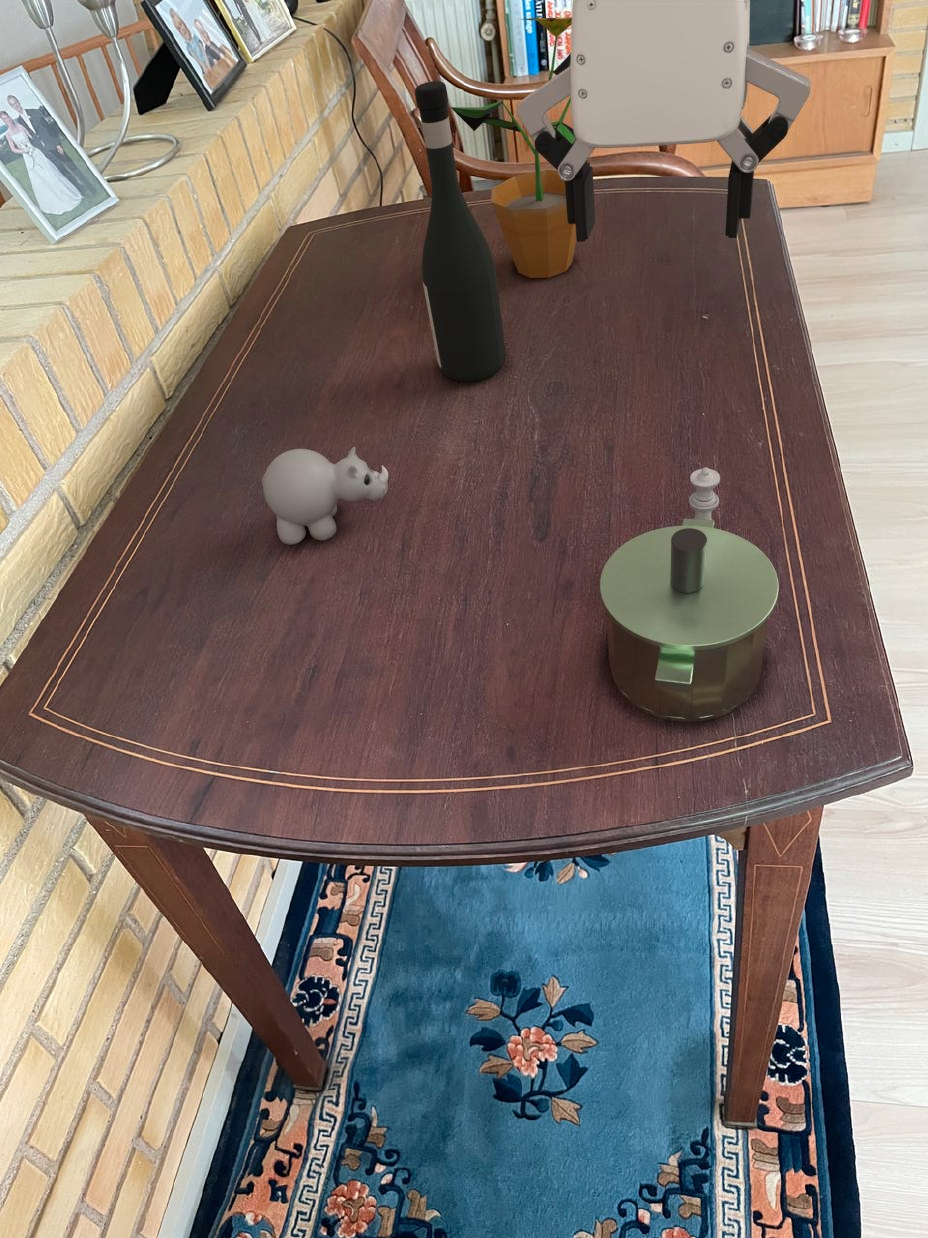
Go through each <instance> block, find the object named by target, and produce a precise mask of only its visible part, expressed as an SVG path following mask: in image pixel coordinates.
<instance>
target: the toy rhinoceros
mask: <svg viewBox="0 0 928 1238" xmlns="http://www.w3.org/2000/svg"><path fill="white" fill-rule="evenodd" d="M356 450H357V447H356V446H352V448H351V449H350V450H349V451H348V455H347V456H346V457H345V458H342V459H340V460H339V461H337V462H336V463H333V462H331V461H330V460H329V459H328V458H327V457H325V456H324V455H323V454H321V453H319V452H317V451H314V450H312V449H308V448H294V449H290V450H286V451H284V452H283V453H281V454H279V455H277V457H275V458H274V459H273V460H272V461H271V462H270V463H269V465H268V467H267V469H266V471H265V472H264V474H263V476H262V478H261V485H262V489H263V496H264V498H265V499H264V500H265V502H266V503H267V505H268V508H269V509H270V510H271V511H272V512H273V514H274V516H276V532H277V535H278V538H279V540H280V541H281V542H282V543H283V544H285V545H288V546H290V545H297V544H299V543H300V542H302V541H303V539H305V537H306V533H307V532H306V527H307V528H308V532H309V534H310V536H311V537H312V538H313V539H315V540H317V541H326V540H329V539H331V538H332V537H333V536H335V534H336V533H337V524H336V521H335V519H334V516H335V515H336V514H337V511H338V506H337V504H338V501H339V500H342V501H345V502H349V503H356V502H359V501H361V500H364V499H366V500H368V501H373V502H374V501H379V500H381V499H383V498H384V497H385V496H386V494H387V493H388V490H389V484H388V479H389V472H388V470H387V469H386V467H385V466H384V465H381V473H380V472H378V471H377V470H373V469H371V468H369V467H368V464H367V462H366V461H365V460H363V459H361V458H360V457H358V455H357V451H356ZM305 526H306V527H305Z"/></svg>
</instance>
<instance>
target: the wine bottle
mask: <svg viewBox="0 0 928 1238" xmlns="http://www.w3.org/2000/svg"><path fill="white" fill-rule="evenodd" d="M414 96H415V104H416V107H417V108H418V112H419V116H420V122H421V128H422V133H423V140H424V144H425V145H424V146H425V150H426V151H425V152H426V156H427V162H428V163H427V164H428V168H429V169H428V170H429V176H430V183H431V184H430V185H431V200H430V201H431V203H430V210H429V211H430V212H429V217H428V223H427V228H426V232H425V233H426V234H425V238H424V243H423V249H422V257H421V278H422V285H423V291H424V297H425V302H426V307H427V313H428V319H429V324H430V329H431V335H432V340H433V345H434V351H435V358H436V361H437V366H438V368H439V370H440V372H441V374H443V376H445V377H446V378H448V379H450V380H452V381H456V382H466V383H467V382H469V383H471V382H476V381H477V382H478V381H482V380H485V379H487V378H489V377H492V376H493V375H495V374H496V373H497V372H499V371H500V370H501V369H502V367H503V366H504V364H505V362H506V356H507V355H506V353H507V352H506V343H505V333H504V326H503V318H502V309H501V302H500V293H499V286H498V285H499V284H498V278H497V277H498V276H497V270H496V265H495V260H494V257H493V254H492V251H491V249H490V245H489V244H488V241H487V239H486V237H485V235H484V233H483V231H482V230H481V227H480V226H479V224H478V222H477V221H476V218H475V217H474V215H473V214H472V212H471V209H470V208H469V205H468V204H467V201H466V199H465V197H464V195H463V192H462V189H461V185H460V182H459V178H458V172H457V166H456V160H455V152H454V145H453V139H452V131H451V123H450V116H449V108H448V106H449V105H448V103H449V96H448V89H447V85H446V83H445V82H443V81H440V80H432V81H427V82H423V83H421V84H418V85H417V86H416V87H415V89H414Z"/></svg>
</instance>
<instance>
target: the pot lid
mask: <svg viewBox="0 0 928 1238" xmlns="http://www.w3.org/2000/svg"><path fill="white" fill-rule="evenodd" d="M766 555H767V554H765V553H764V552H763V551H762V550H761V549H760V548H758V546H756V545H755V544H753V543H752V542H750V541H749V540H747V539H745V538H743V537H742V536H739V535H738V534H734V533H732V532H730V531H727V530H724V529H719V528H715V527H714V528H710V527H704V526H687V525H685V526H682V525H673V526H672V525H671V526H666V527H665V526H664V527H660V528H656V529H652V530H650V531H646V532H644V533H642V534H639V535H637V536H635V537H633V538H630V539H629V540H628V541H626V542H625V543H623V544H622V545H621V546H619V547H618V548H617V549H616V550H615V551H614V552H613V553H612V554H611V555H610V556H609V558H608V559H607V561H606V562H605V564H604V566H603V567H602V571H601V574H600V579H599V592H600V593H599V594H600V599H601V602H602V605H603V607H604V609H605V611H606V614H607V613H608V614H609V616H610V617H611V618H612V620H613V621H614V622H615V623H616V624H617V625H618V626H619V627H621V628H622V629H623V630H624V631H626V632H627V633H629V634H630V635H632V636H634V637H636V638H638V639H640V640H642V641H644V642H647V643H650V644H652V645H656V646H660V647H664V648H669V649H676V650H705V649H712V648H717V647H721V646H726V645H728V644H731V643H734V642H737V641H739V640H741V639H743V638H745V637H747V636H749V635H750V634H752V633H753V632H755V631H756V630H757V629H758V628H760V627H761V626H762V625H763V624H764V623H765V622H766V620H767V619H768V620H769V618H770V617H771V615H772V613H773V612H774V610H775V608H776V605H777V602H778V597H779V589H780V587H779V578H778V574H777V571H776V569H775V567H774V565H773V563H772V562H771V560H770V559H769V557H768V556H766Z"/></svg>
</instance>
